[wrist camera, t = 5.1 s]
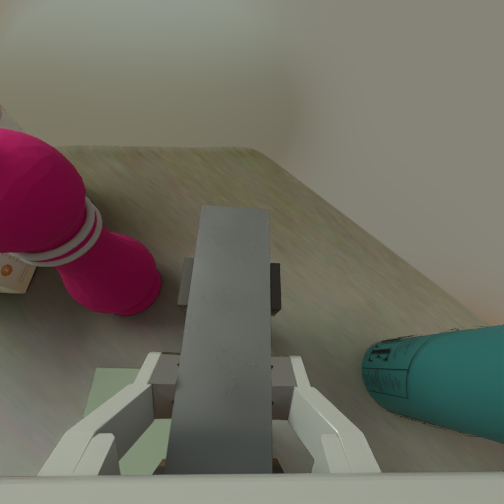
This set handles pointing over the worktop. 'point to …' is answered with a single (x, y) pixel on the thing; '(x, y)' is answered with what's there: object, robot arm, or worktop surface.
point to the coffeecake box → (3, 264)
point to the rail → (225, 351)
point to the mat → (152, 440)
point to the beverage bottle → (442, 379)
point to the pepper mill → (68, 230)
